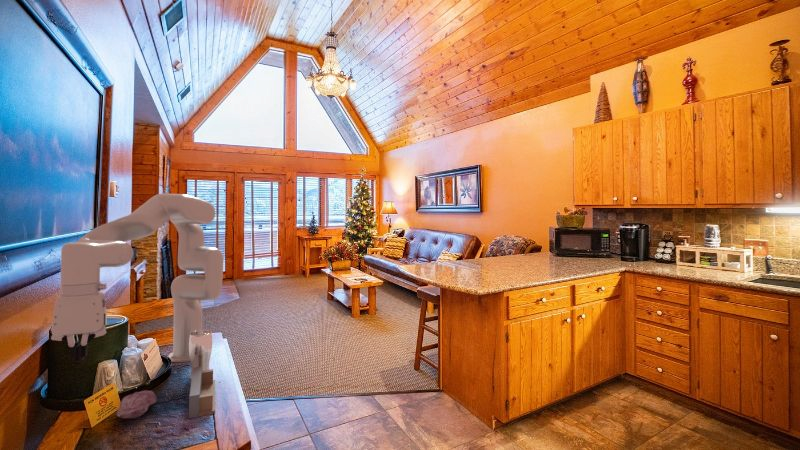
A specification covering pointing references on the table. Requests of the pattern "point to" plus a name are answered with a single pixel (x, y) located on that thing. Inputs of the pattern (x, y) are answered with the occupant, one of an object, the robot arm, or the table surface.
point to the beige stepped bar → (202, 393)
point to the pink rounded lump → (136, 404)
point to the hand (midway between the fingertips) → (79, 359)
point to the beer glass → (200, 349)
